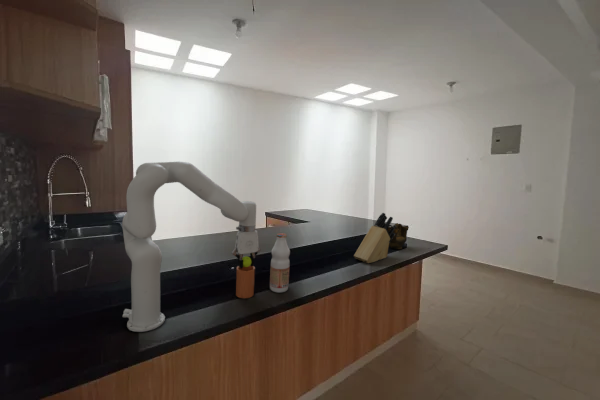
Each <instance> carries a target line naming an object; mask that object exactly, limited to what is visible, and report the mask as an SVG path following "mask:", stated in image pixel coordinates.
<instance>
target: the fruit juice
mask: <svg viewBox="0 0 600 400" xmlns="http://www.w3.org/2000/svg"><path fill="white" fill-rule="evenodd" d="M287 236H288V235H287V233H283V232H280V233H277V234H276V240H275V243H274V245H273V247H272V249H271V260H270V269H269V270H270V271H269V274H270V275H269V290H270V291H272V292H274V293H285V292H287V291H288V290H289V285H290V284H289V283H290V282H289V281H290V265H291V262H290V255H291V250H290V249H291V248H289V244H288V242H287Z"/></svg>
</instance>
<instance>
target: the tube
mask: <svg viewBox="0 0 600 400" xmlns="http://www.w3.org/2000/svg"><path fill="white" fill-rule="evenodd" d="M235 270H236V274H235V296H236V297H237V298H239V299H249V298H252V297H253V296H254V295H255V281H256V280H255V278H256V267H255V266H254V265H253V266H251V265H250V266H249V267H243V268H240V267H239V266H238V265H237V266H236V269H235Z"/></svg>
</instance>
